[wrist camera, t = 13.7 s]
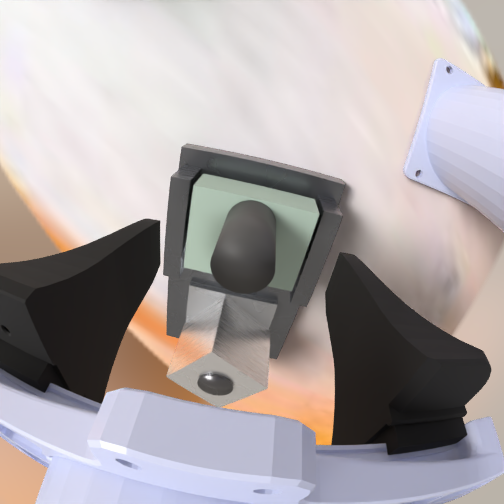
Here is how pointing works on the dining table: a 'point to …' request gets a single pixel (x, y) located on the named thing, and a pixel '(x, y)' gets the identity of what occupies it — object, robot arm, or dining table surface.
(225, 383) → the block
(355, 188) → the dining table surface
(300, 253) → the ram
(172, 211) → the press
